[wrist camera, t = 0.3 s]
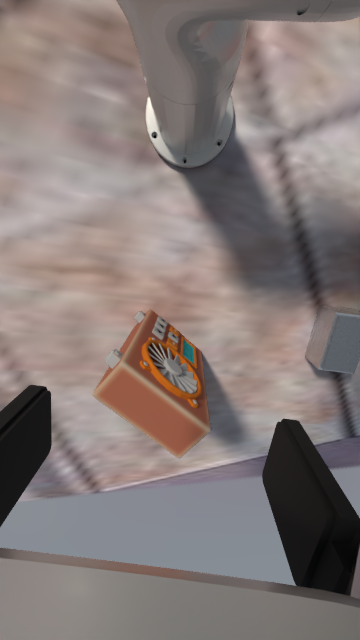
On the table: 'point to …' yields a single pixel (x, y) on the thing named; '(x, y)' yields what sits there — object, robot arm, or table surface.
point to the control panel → (158, 385)
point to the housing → (335, 339)
